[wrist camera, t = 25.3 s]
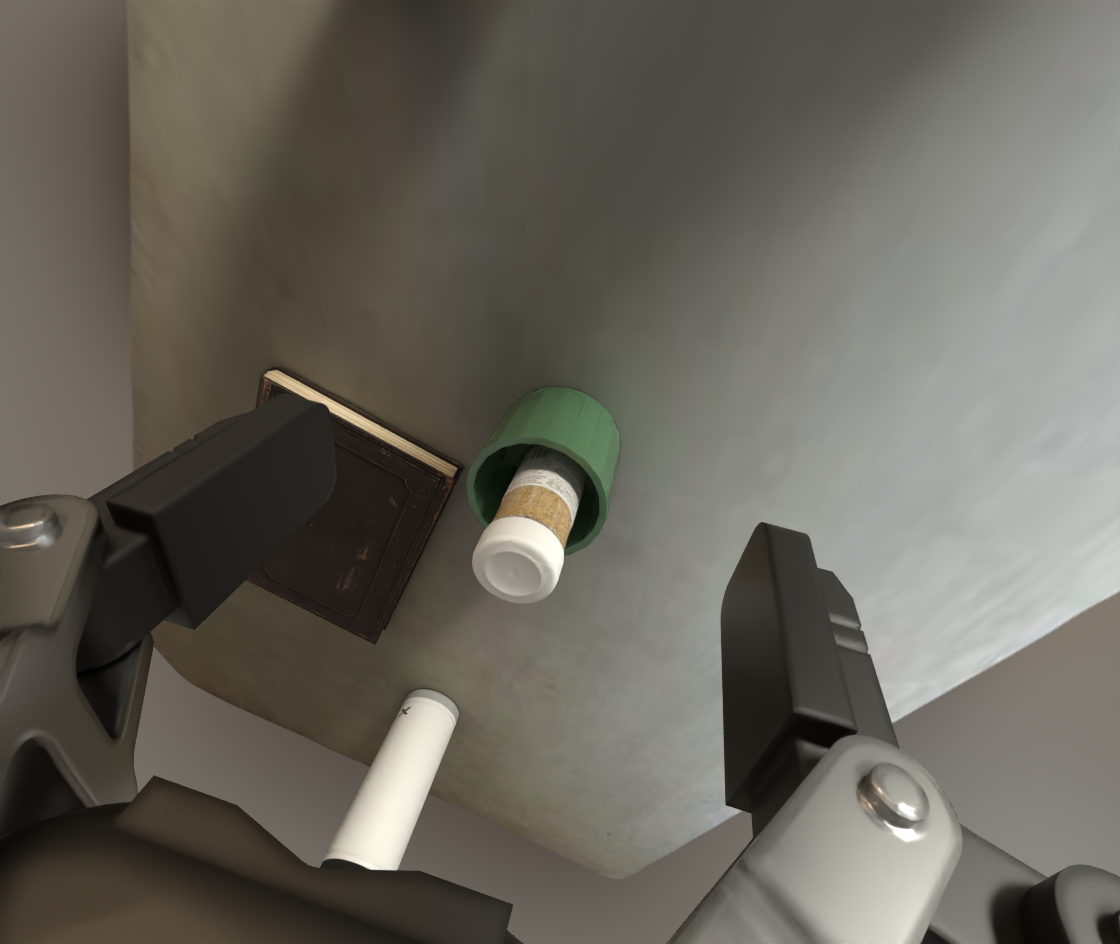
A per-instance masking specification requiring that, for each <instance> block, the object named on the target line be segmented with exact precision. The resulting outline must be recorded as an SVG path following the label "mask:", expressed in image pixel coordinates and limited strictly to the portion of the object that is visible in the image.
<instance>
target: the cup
mask: <svg viewBox="0 0 1120 944" xmlns="http://www.w3.org/2000/svg"><path fill="white" fill-rule="evenodd" d="M532 444H538V445H544V446H547V447H550V448H552V449H555V450H558V451H561V452H563V453H564V454H566V455H567V456H569V457H570V458H572V459H573V460H574V461H576V462H577V463H579V464H580V465H581V466H582V467H583V469H584V470H585V471H586V472H587V476H586V482H585V486H584V489H583V492H582V496H581V499H580V502H579V506H578V509H577V512H576V516H575V519H574V522H573V526H572V528H571V530H570V532H569V534H568V538H567V541H566V543H565V548H564V555H569V554H572V553H574V552H576V551H578V550H580V549H582V548H584V547H586V546H588V545H589V544H590V543H591V542H592V541H593V540H594V539H595V538H596V537H597V536H598V535H599V534H600V532H601V530H602V528H603V525H604V523H605V521H606V518H607V515H608V511H609V506H610V502H611V497H612V492H613V488H614V483H615V479H616V474H617V470H618V465H619V461H620V452H621V441H620V435H619V431H618V428H617V426H616V424H615V422H614V420H613V418H612V417H611V415H610V414H609V413H608V411H607V410H606V409H605V408H604V407H603V406H602V405H601V404H600V403H599V402H597V401H596V400H595V399H593V398H592V397H590V396H588V395H587V394H585V393H582V392H580V391H577V390H574V389H571V388H565V387H545V388H540V389H536V390H533V391H531V392H529V393H527V394H525V395H523V396H522V397H521V398H519V399H518V400H517V401H516V402H515V403H514V404H513V405H512V406H511V408H510V409H509V410H508V412H507V413H506V415H505V416H504V418H503V419H502V421H501V422H500V424H499V425H498V426H497V428H496V429H495V431H494V432H493V434H492V435H491V437H490V438H489V440H488V441H487V443H486V444H485V446H484V447H483V449H482V450H481V452H480V453H479V454H478V456H477V457H476V459H475V460H474V462H473V463H472V465H471V466H470V469H469V474H468V478H467V483H466V489H467V495H468V502H469V505H470V507H471V509H472V511H473V513H474V515H475V517H476V519H477V521H478V522H479V523H480V524H481V525H482V527H483V528H484V529H486V528H487V527H488V526H489V525H490V524H491V522H492V521H493V520H494V518H495V516H496V514H497V512H498V510H499V508H500V506H501V502H502V499H503V497H504V495H505V493H506V491H507V489H508V487H509V485H510V484H511V482H512V480H513V478H514V476H515V474H516V472H517V470H518V468H519V466H520V464H521V463H522V461H523V459H524V457H525V455H526V454H527V453H528V452H529V451H530V449H531V446H532Z"/></svg>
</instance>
